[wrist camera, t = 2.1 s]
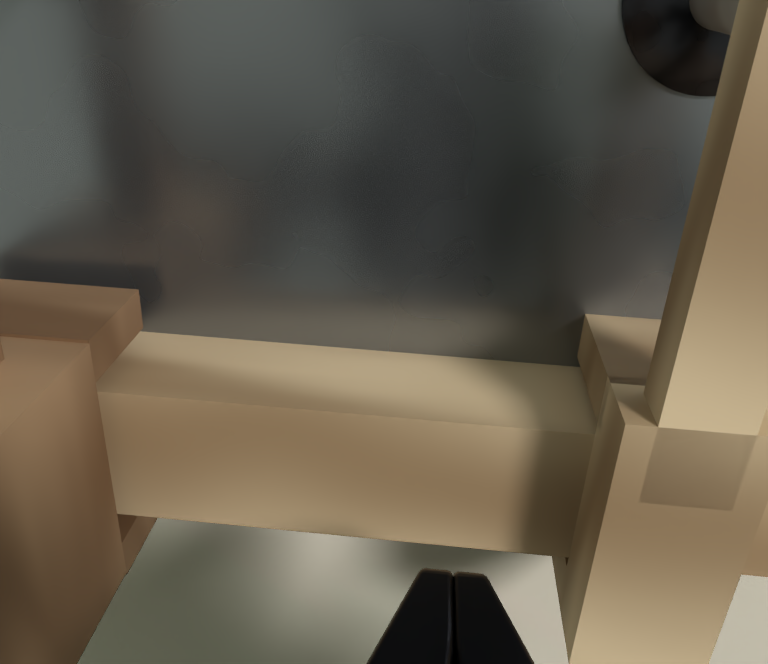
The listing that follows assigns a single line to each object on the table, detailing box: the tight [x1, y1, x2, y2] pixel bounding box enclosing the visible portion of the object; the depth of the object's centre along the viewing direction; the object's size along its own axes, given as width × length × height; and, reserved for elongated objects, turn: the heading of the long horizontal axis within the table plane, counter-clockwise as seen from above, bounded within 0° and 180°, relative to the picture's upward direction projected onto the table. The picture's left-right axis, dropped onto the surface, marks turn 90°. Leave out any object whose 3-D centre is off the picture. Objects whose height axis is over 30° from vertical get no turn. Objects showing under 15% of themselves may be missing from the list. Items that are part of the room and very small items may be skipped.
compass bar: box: [96, 0, 768, 664], centre depth 10 cm, size 10×22×3 cm, turn 88°
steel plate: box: [0, 0, 731, 367], centre depth 11 cm, size 16×22×1 cm
